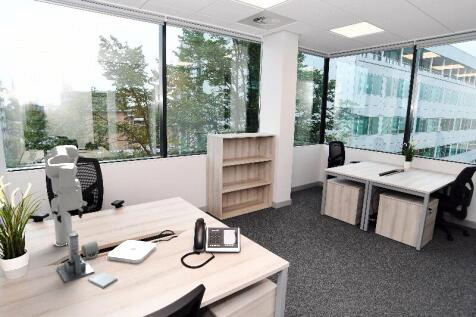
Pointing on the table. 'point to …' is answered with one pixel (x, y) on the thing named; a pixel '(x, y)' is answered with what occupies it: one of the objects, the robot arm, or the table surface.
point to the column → (73, 245)
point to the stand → (74, 269)
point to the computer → (132, 251)
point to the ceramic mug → (90, 249)
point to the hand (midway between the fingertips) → (70, 219)
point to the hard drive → (102, 279)
